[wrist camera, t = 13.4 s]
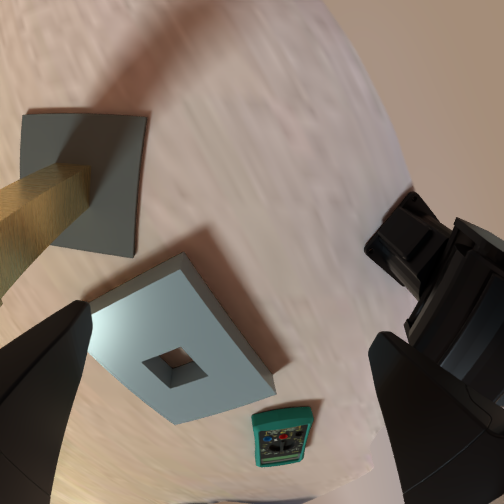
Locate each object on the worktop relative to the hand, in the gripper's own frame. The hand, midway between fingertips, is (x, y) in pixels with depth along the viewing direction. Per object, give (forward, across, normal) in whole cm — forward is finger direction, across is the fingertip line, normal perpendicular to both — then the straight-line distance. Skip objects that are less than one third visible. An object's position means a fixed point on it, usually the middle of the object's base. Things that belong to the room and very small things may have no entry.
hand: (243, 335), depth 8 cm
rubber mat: (+13, +11, 0) cm, 17 cm away
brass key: (+13, +11, 0) cm, 17 cm away
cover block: (+13, +2, +14) cm, 19 cm away
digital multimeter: (+14, -12, +31) cm, 36 cm away
